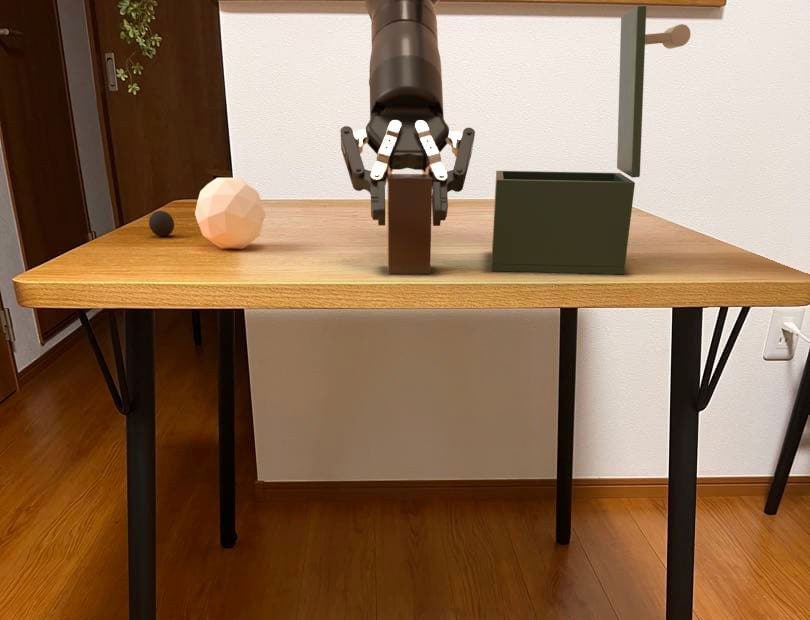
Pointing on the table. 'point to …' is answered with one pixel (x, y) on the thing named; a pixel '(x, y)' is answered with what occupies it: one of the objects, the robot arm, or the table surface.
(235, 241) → the geometric ball
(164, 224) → the marker ball
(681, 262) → the table surface
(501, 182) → the bin
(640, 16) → the bin lid
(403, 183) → the block
